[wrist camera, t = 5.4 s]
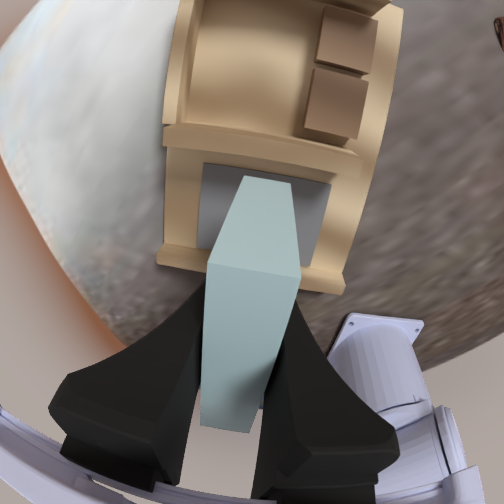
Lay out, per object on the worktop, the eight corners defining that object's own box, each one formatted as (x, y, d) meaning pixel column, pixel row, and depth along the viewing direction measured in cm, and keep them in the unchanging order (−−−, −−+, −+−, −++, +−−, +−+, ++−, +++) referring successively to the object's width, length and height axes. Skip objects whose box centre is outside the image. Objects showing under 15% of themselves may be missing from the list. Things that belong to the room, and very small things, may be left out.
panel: (260, 320, 16) (249, 433, 10) (225, 315, 16) (200, 425, 10) (290, 183, 12) (301, 278, 6) (244, 175, 12) (207, 262, 6)
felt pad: (309, 265, 20) (309, 266, 20) (197, 246, 20) (196, 247, 20) (331, 184, 17) (332, 185, 17) (203, 162, 17) (203, 163, 17)
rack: (337, 277, 21) (346, 313, 18) (167, 248, 21) (146, 279, 18) (400, 11, 11) (427, -5, 8) (196, -24, 11) (176, -49, 8)
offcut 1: (363, 75, 14) (370, 73, 12) (313, 62, 14) (316, 59, 12) (370, 26, 12) (378, 20, 11) (321, 12, 12) (325, 5, 11)
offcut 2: (350, 136, 16) (357, 139, 14) (302, 125, 16) (304, 127, 14) (361, 83, 14) (369, 81, 13) (312, 70, 14) (315, 67, 13)
